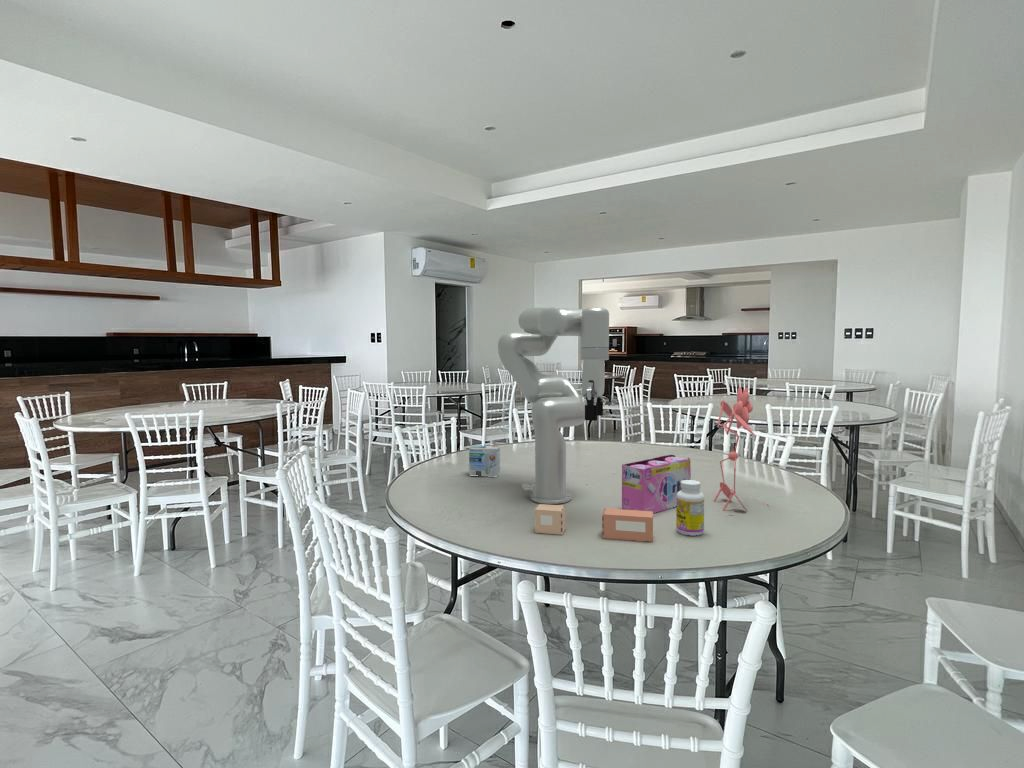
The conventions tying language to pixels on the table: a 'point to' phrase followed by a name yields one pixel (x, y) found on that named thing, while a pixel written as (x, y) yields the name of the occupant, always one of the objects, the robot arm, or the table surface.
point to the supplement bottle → (690, 509)
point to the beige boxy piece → (550, 519)
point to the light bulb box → (484, 460)
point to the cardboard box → (627, 524)
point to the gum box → (653, 483)
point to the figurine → (742, 418)
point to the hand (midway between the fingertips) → (594, 417)
